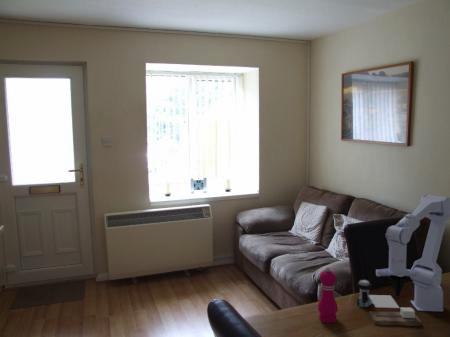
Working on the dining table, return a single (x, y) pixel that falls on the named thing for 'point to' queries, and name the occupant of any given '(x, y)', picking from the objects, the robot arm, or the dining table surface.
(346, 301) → the dining table surface
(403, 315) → the switch tab
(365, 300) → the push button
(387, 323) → the switch board
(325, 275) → the pepper mill
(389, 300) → the parts mat
